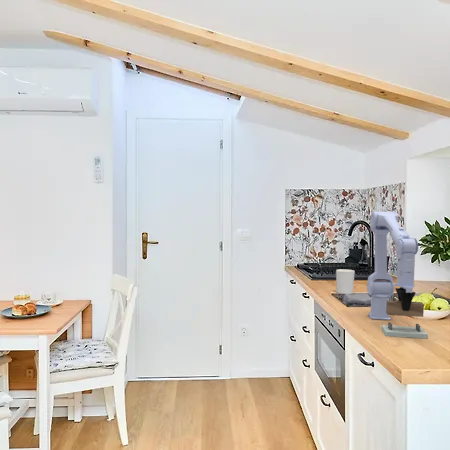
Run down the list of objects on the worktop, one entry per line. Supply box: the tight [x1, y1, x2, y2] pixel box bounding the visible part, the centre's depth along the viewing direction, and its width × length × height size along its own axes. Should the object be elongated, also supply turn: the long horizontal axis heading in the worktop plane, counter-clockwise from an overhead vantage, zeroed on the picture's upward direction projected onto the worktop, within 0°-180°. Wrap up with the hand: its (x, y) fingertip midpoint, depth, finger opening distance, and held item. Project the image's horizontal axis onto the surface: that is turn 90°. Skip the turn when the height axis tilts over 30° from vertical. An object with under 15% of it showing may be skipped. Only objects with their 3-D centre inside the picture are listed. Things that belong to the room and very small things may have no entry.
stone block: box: [343, 292, 371, 305], centre depth 232 cm, size 12×5×10 cm
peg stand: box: [381, 321, 429, 339], centre depth 173 cm, size 10×14×4 cm
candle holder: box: [335, 268, 356, 295], centre depth 257 cm, size 10×10×12 cm
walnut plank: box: [386, 300, 425, 318], centre depth 173 cm, size 4×12×4 cm, turn 80°
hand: (404, 309), depth 173 cm, fingers closed on walnut plank, 4 cm apart
